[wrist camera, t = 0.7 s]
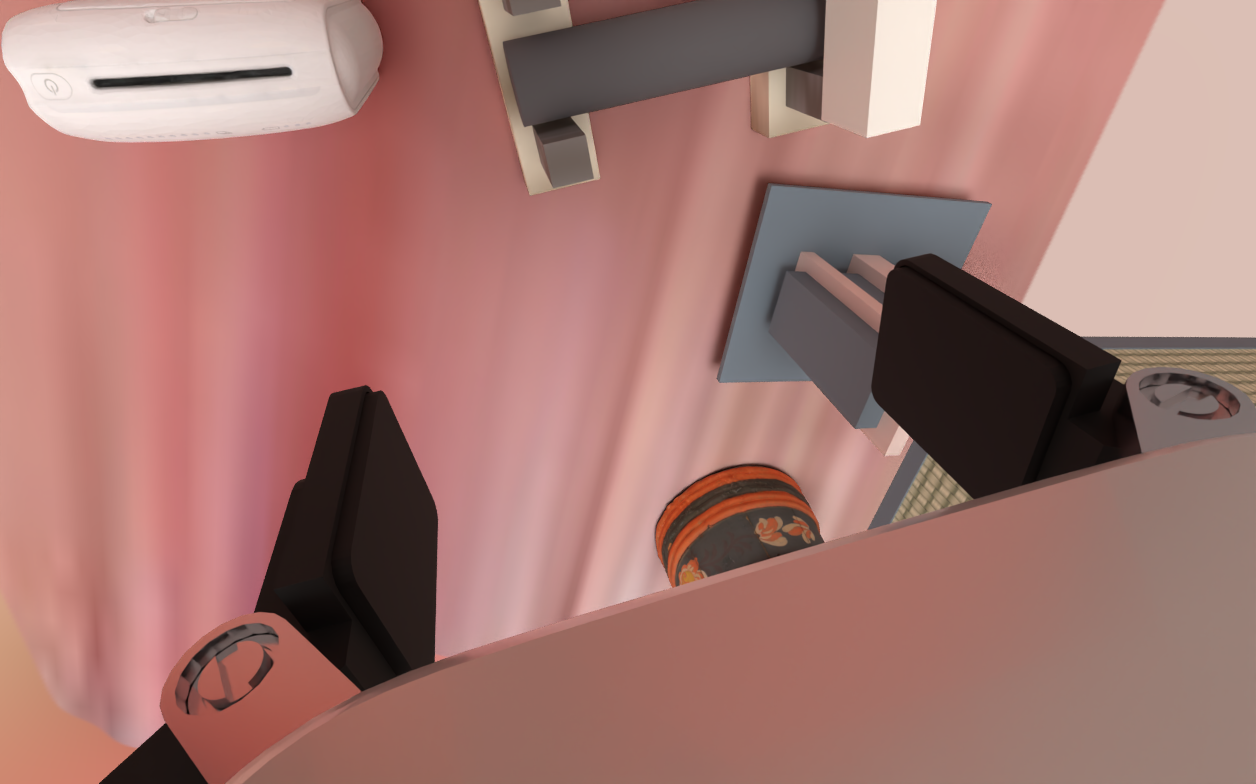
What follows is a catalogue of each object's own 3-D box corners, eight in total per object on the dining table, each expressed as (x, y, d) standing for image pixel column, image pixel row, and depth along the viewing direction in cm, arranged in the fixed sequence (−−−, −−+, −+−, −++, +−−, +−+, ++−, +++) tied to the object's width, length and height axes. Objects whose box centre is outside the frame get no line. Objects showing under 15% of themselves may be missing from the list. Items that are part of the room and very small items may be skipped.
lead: (517, 109, 30) (529, 139, 28) (498, 31, 28) (509, 56, 25) (826, 40, 32) (862, 62, 30) (836, -40, 29) (876, -23, 27)
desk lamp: (697, 364, 45) (1036, 896, 19) (743, 172, 37) (1409, 630, 12) (898, 362, 50) (1379, 780, 24) (975, 193, 43) (1796, 542, 17)
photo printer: (169, 100, 28) (24, 169, 19) (122, -9, 26) (-75, 5, 16) (394, 85, 30) (369, 140, 20) (370, -18, 28) (330, -10, 18)
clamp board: (457, -79, 27) (460, -90, 22) (820, -147, 29) (909, -175, 24) (525, 182, 34) (540, 223, 29) (812, 114, 36) (878, 140, 31)
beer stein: (771, 587, 65) (876, 786, 49) (642, 609, 61) (710, 832, 46) (815, 454, 54) (967, 654, 39) (662, 472, 51) (760, 699, 35)
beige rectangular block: (830, -104, 24) (887, -115, 21) (888, -116, 25) (954, -128, 21) (821, 119, 29) (866, 138, 26) (869, 108, 30) (920, 124, 27)
